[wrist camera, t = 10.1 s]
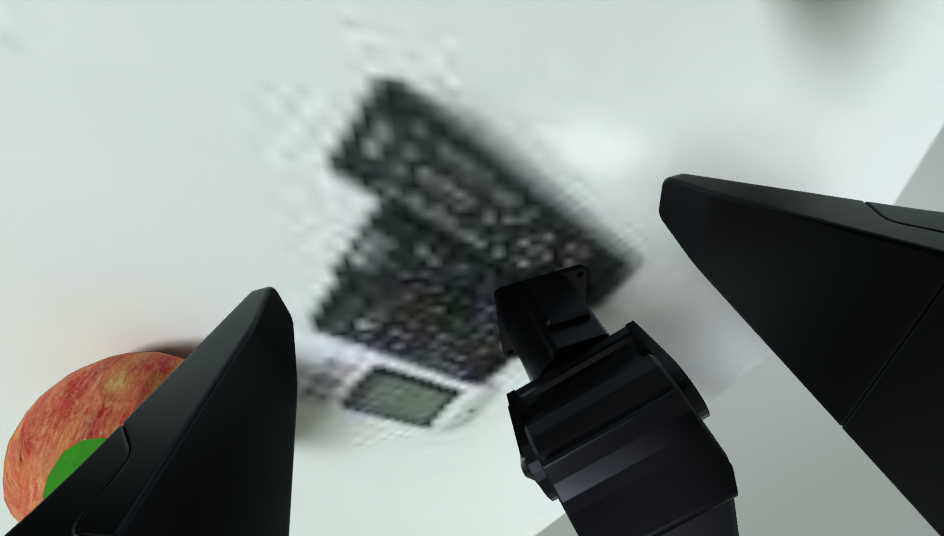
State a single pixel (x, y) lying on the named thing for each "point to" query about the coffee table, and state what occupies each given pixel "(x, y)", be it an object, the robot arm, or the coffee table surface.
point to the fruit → (76, 423)
